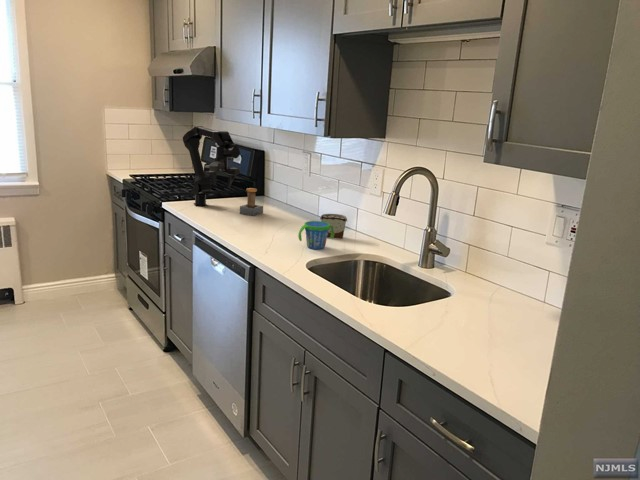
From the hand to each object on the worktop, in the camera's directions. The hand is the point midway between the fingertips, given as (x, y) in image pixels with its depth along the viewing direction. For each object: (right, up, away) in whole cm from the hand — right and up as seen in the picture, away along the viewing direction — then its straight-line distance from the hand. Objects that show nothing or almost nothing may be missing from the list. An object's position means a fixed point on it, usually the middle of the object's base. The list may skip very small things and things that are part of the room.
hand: (221, 186), depth 263 cm
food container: (+57, -27, -34) cm, 72 cm away
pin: (+15, -14, +1) cm, 21 cm away
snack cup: (+50, -31, -53) cm, 79 cm away
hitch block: (+15, -14, +1) cm, 21 cm away
